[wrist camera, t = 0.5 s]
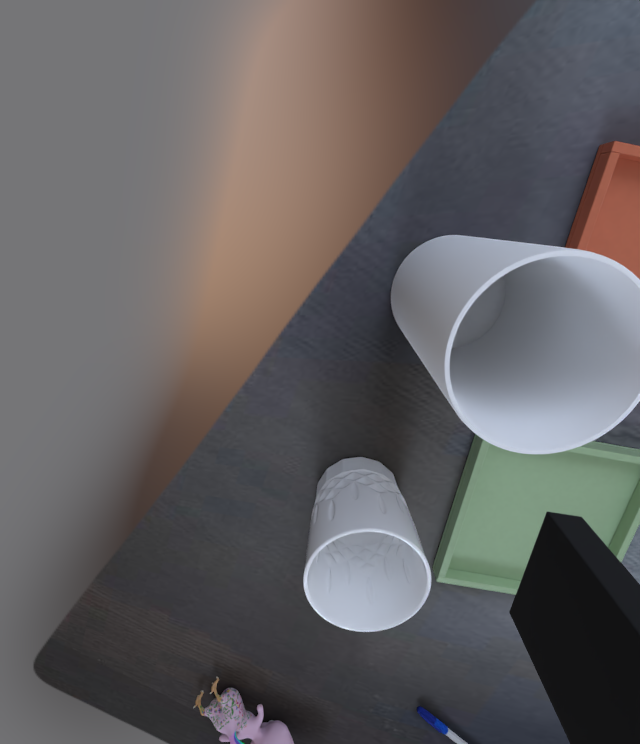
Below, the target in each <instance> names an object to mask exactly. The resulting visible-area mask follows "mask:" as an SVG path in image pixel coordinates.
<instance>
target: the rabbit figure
mask: <svg viewBox="0 0 640 744" xmlns="http://www.w3.org/2000/svg"><path fill="white" fill-rule="evenodd" d="M218 681H219V678H218V677H217V680H216V681H215V682H214V683H212V684H213V685H212V688H211V690H212V692H213V691H214V694H215V696H216V697H217V698H215V699H213V700H212V701H211V703H210V704H209V705H208V706H207V707H206V708H203V707H202V706H201V697H202V695H203V692H202V691H201V694H200V695H199V696H198V695H197V696H198V697H197V699H196V702H195V703H196V705H195V706H194V708H195V707H196V706H197V705H198V707H199V709H200V713H201V715H202V716H207V717H209V718H210V719H211V721H212V723H213V725H214V727H215V728H216V729H217V730H218V731H219V732H221V733H223V734H226V735H221V736H220V737H219V740H220V741H221V742H230V744H245V743H243V742H242V741H240V740H241V739H245V738H250V739H252V741H251V744H294V742H293V739H292V737H291V734H290V732H289V730H288V728H287V726H286V725H285V724H284V723H283V722H281V721H279V720H276V721H274V720H270V721H269V722H263V723H262V721H263V716H264V712H263V706H262V704H259V705H258V706H257V711H258V715H257V716H256V717H255V715H254V714H253V713H251V712H250V711H246V710H245V708H244V704H243V701H242V698H241V696H240V693H239V692H238V691H237V690H236V689H235V688H227V689H225V690H224V691H223V692H222V694H221V695H218V693H217V690H216V688H217V683H218ZM212 692H210V694H211V693H212ZM237 731H238V732H237ZM236 732H237V733H236Z"/></svg>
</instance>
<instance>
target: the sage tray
mask: <svg viewBox="0 0 640 744" xmlns="http://www.w3.org/2000/svg"><path fill="white" fill-rule="evenodd" d="M547 512H554V513H560V514H567V515H573V516H580V517H582V518H583V519H584V520H585V521H586V522H587V524H588V525H589V526H590V527H591V528H592V529H593V531H594V532H595V533H596V534H597V535H598V536H599V538H600V539H601V540H602V541H603V542H604V543H605V545H606V546H607V547H608V548H609V549H610V550H611V552H612V553H613V554H614V555H615V556H616V557H617V559H618V560H619V561H620V562H622V560H623V558H624V555H625V553H626V551H627V549H628V547H629V545H630V543H631V541H632V539H633V536H634V534H635V532H636V530H637V528H638V526H639V524H640V449H635V448H629V447H624V446H618V445H612V444H607V443H601V442H596V441H591V442H589V443H587V444H585V445H582V446H580V447H577V448H574V449H571V450H567V451H563V452H558V453H552V454H522V453H517V452H512V451H508V450H505V449H502V448H499V447H497V446H494V445H492V444H490V443H488V442H487V441H485V440H484V439H482V438H480V437H479V436H478V435H476V434H475V436H474V439H473V442H472V445H471V448H470V451H469V455H468V458H467V461H466V464H465V467H464V470H463V473H462V476H461V480H460V483H459V486H458V489H457V492H456V495H455V498H454V501H453V504H452V508H451V511H450V514H449V517H448V520H447V523H446V526H445V529H444V533H443V536H442V539H441V542H440V545H439V548H438V551H437V554H436V557H435V561H434V564H433V567H432V568H433V571H434V575H435V578H436V581H437V582H441V583H447V584H453V585H459V586H465V587H472V588H478V589H484V590H490V591H496V592H502V593H508V594H514V595H516V593H517V591H518V588H519V585H520V583H521V580H522V577H523V574H524V572H525V569H526V566H527V564H528V561H529V558H530V556H531V553H532V550H533V548H534V545H535V542H536V539H537V537H538V534H539V531H540V529H541V526H542V523H543V521H544V518H545V515H546V513H547Z"/></svg>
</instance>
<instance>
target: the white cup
mask: <svg viewBox="0 0 640 744" xmlns="http://www.w3.org/2000/svg"><path fill="white" fill-rule="evenodd" d="M303 585H304V591H305V594H306V597H307V599H308V601H309V603H310V605H311V606H312V608H313V609H314V610H315V611H316V612H317V613H318V614H319V615H320V616H321V617H322V618H324V619H325V620H326V621H328V622H330V623H331V624H333V625H336V626H338V627H340V628H343V629H347V630H351V631H358V632H374V631H381V630H386V629H389V628H392V627H395V626H397V625H399V624H401V623H403V622H405V621H407V620H408V619H409V618H411V617H412V616H413V615H414V614H416V613H417V612H418V610H419V609H420V608H421V607H422V606H423V604H424V603H425V601H426V599H427V597H428V594H429V591H430V587H431V571H430V567H429V564H428V561H427V558H426V556H425V553H424V550H423V547H422V545H421V542H420V539H419V536H418V533H417V530H416V527H415V524H414V522H413V519H412V517H411V515H410V512H409V509H408V507H407V504H406V502H405V499H404V497H403V496H402V495H401V493H400V490H399V487H398V485H397V482H396V480H395V477H394V475H393V473H392V472H391V471H390V470H389V469H387V468H386V467H385V466H384V465H383V464H382V463H380V462H379V461H375V460H372V459H368V458H365V457H354V458H347V459H342V460H340V461H339V462H337V463H335V464H334V465H332V466H330V467H329V468H327V469H326V471H325V472H324V474H323V476H322V477H321V479H320V480H319V482H318V484H317V493H316V500H315V504H314V507H313V511H312V517H311V524H310V529H309V537H308V545H307V553H306V561H305V569H304V576H303Z"/></svg>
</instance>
